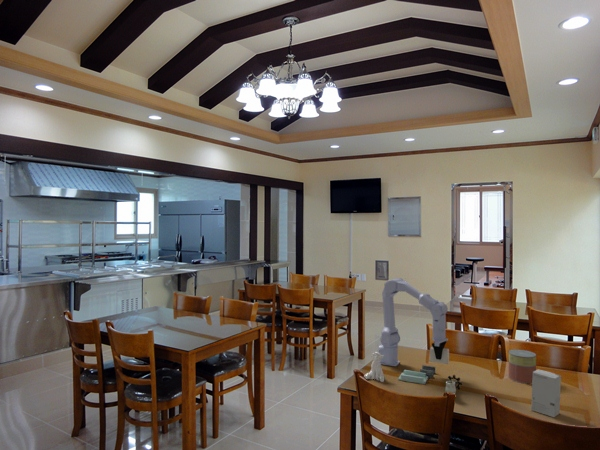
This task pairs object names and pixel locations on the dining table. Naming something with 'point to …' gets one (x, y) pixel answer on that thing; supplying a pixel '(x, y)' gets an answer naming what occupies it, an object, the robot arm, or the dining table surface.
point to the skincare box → (546, 393)
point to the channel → (428, 370)
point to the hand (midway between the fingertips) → (439, 357)
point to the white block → (443, 359)
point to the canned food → (521, 365)
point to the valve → (452, 384)
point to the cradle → (413, 377)
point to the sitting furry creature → (376, 368)
